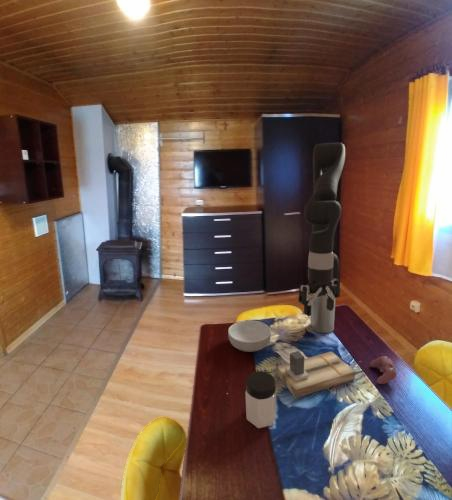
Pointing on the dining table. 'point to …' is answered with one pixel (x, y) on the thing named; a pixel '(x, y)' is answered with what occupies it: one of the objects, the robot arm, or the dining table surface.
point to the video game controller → (385, 369)
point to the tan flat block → (318, 374)
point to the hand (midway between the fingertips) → (318, 312)
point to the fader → (297, 366)
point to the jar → (261, 399)
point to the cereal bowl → (249, 335)
